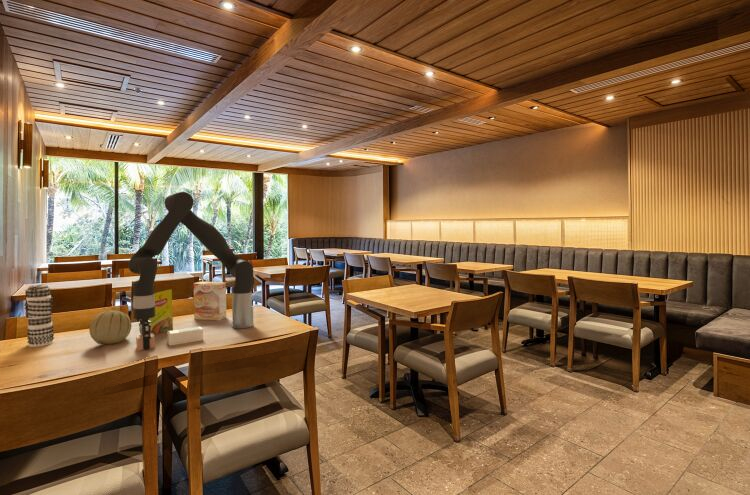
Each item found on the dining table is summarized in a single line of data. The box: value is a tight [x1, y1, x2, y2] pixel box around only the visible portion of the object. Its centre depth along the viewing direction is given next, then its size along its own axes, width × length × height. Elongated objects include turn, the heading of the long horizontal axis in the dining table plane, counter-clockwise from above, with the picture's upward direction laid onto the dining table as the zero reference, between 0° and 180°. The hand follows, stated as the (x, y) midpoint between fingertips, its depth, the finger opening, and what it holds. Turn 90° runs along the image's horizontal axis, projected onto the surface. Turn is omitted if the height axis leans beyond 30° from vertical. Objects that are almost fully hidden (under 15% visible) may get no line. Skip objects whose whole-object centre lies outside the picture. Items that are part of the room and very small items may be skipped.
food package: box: [149, 289, 174, 336], centre depth 177 cm, size 15×1×20 cm, turn 168°
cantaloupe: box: [88, 307, 132, 346], centre depth 164 cm, size 15×15×15 cm
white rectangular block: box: [166, 326, 204, 346], centre depth 165 cm, size 13×5×5 cm, turn 126°
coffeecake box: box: [193, 281, 227, 321], centre depth 207 cm, size 15×7×20 cm, turn 80°
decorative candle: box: [24, 284, 55, 348], centre depth 164 cm, size 9×9×25 cm
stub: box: [135, 333, 156, 352], centre depth 156 cm, size 6×5×5 cm
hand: (145, 347), depth 157 cm, fingers closed on stub, 5 cm apart
